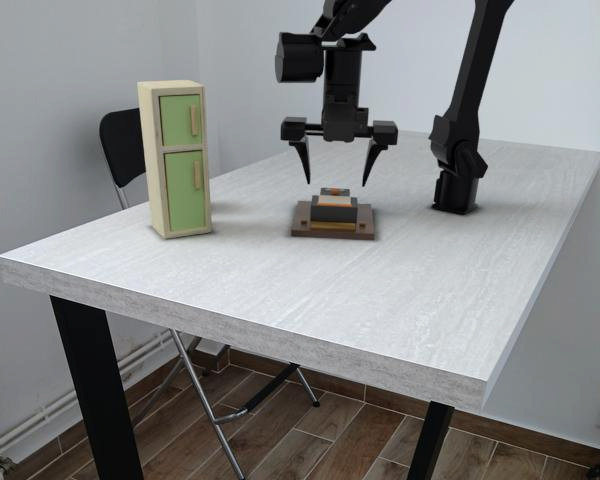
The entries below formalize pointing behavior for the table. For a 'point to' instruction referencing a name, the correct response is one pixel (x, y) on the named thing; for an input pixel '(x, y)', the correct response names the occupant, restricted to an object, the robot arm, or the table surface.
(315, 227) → the stand
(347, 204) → the penguin
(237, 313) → the table surface
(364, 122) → the robot arm
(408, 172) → the table surface
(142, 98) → the toy refrigerator
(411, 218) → the table surface
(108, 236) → the table surface
